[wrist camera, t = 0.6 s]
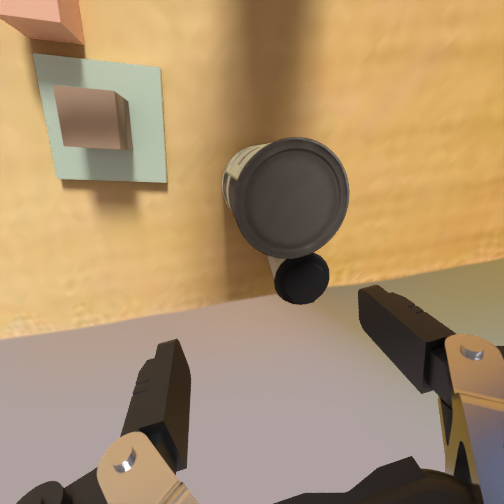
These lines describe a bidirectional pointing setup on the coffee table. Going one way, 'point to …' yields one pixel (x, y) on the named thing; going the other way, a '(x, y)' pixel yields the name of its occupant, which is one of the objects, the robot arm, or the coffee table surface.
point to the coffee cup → (300, 278)
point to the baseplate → (141, 118)
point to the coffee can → (287, 195)
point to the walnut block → (93, 118)
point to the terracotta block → (45, 19)
